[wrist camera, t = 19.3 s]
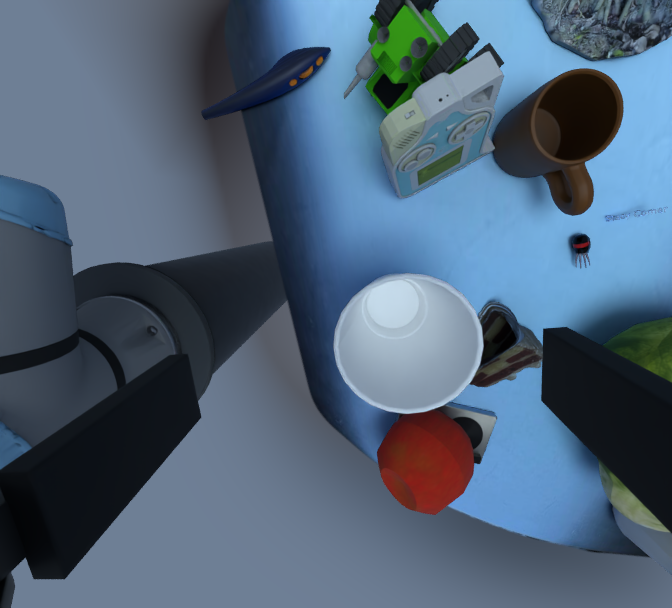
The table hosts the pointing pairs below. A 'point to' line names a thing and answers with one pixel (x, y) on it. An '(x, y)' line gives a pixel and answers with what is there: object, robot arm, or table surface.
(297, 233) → the table surface
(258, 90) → the tapered navy handle
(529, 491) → the table surface
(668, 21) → the tree stump
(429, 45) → the toy tractor
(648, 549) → the salt shaker
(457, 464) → the apple
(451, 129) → the handheld gaming console
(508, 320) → the chocolate cake
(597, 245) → the table surface
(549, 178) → the mug
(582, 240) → the toy creature
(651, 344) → the lettuce
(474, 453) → the hob plate
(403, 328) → the cup
